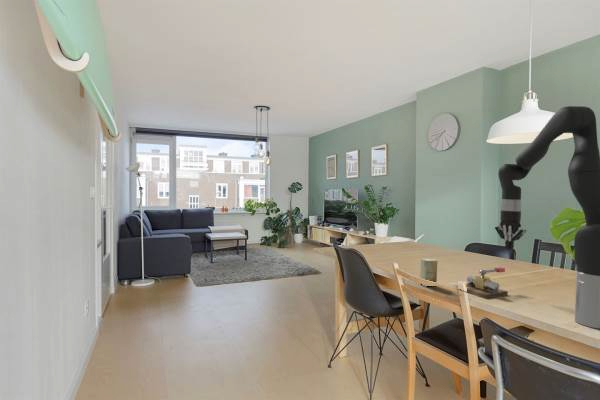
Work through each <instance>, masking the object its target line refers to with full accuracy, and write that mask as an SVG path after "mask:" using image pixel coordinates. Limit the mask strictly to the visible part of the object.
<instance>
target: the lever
mask: <svg viewBox="0 0 600 400" xmlns="http://www.w3.org/2000/svg"><path fill="white" fill-rule="evenodd" d="M494 272H495V273H505V272H506V268H505V267H501V266H500V267H494V269H487V270H486V269H479V270H478V273H479V274H480V275H481V274H484V275H487V273H494Z"/></svg>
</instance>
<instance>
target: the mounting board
mask: <svg viewBox="0 0 600 400" xmlns="http://www.w3.org/2000/svg"><path fill="white" fill-rule="evenodd" d="M465 285H466V287H467V292H468V293H467V292H466V293H467V294H470V295H474V296H477V297H479V298H483V299H490V298H496V297H497V298H498V297H503V296H508V295H509V294H508V293H509V292H508V291H507V290H505V289H501V288H499V289H498V293H495V294H491V293H488V289H485V290H482V289H479V288H476V287H469V286H467V284H465Z"/></svg>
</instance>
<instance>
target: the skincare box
mask: <svg viewBox="0 0 600 400" xmlns="http://www.w3.org/2000/svg"><path fill="white" fill-rule="evenodd" d="M419 274H420V276H419V279H420V278H422V279H425V280H429V281H433V282H437V280H438V279H437V278H438V260H437V259H433V258H420V273H419ZM421 286H422V287H425V288H428V287H427V286H425V285H421Z"/></svg>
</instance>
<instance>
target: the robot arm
mask: <svg viewBox="0 0 600 400" xmlns="http://www.w3.org/2000/svg"><path fill="white" fill-rule="evenodd" d="M597 127H598V126H597V117H596V114H595V111H594V110H593V109H592V108H591V107H588V106H578V105H577V106H572V105H569V106H568V105H567V106H563V107H561V108H560V109H558V110H557V111H555V113H554V114H552V116H551V118H550V119H549V120H548V121H547V123H546V124H545V126H544V127H543V128H542V129H541V131H540V132H538V134H537V136H536V137H535V138H534V139H533V141H531V143H530V144H528V145H527V146H526V147H525V149H523V150H522V151H521V152H520V153H519V154H518V155H517V156H516V158H515V162H516V163H504V164H502V165H501V166H500V167H499V169H498V173H497V175H498V179H499V183H500V187H501V202H500V218H499V219H500V223H499V225H498V226H495V227H494V229H495V230H496V233H497V234H498V235H499V238H500V239H503V240H504V245H505V246H504V247H505V250H508V251H512V250H514V248H515V247H514V246H515V241H519V240H520V239H521V238H522V237H523V236H524V235H525V234H526V233H527V230H526V229H524V228H522V225H521V219H522V189H521V187H520V186H518V185H516V184H515V183H514V181H521V180H523V179H525V178H526V177H527V176H528V174H529V173H530V171H531V170H532V168H533V167H534V166H535V165H536V164H538V163H539V162H540V161H541V160H542V159H543V158H544V157H545V156H546V155H547V153H548V151H549V149H550V146H551V144H552V143H553V142H554V140H556V139H557V138H558V137H560V136H562V135H563V134H572V137H573V142H574V150H573V151H574V152H573V155H572V157H571V159H570V162H569V165H568V169H567V175H568V182H569V187H570V189H571V192H572V195H573V196H574V197H575V199H576V201H577V202H578V204H579V206H580V207H581V209H582V211H583V215H584V220H585V226H582V227H580V228H579V229H578V230H577V231H576V233H575V235H574V241H573V243H574V247H573V248H574V249H573V254H574V255H573V258H574V259H573V260H574V263H575V265H576V278H575V279H576V282H575V284H576V285H575V304H574V305H575V307H574V309H575V310H574V321H575V323H578V324H580V325H583V326H585V327H588V328H589V327H590V328H593V329H599V330H600V148H599V143H598V131H597V130H598V129H597Z"/></svg>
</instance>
